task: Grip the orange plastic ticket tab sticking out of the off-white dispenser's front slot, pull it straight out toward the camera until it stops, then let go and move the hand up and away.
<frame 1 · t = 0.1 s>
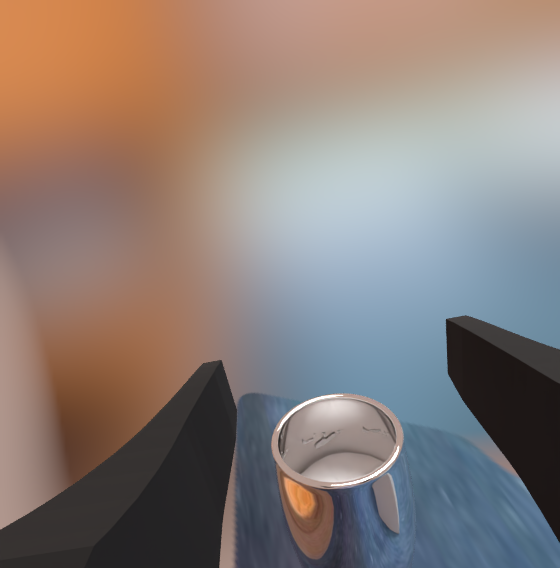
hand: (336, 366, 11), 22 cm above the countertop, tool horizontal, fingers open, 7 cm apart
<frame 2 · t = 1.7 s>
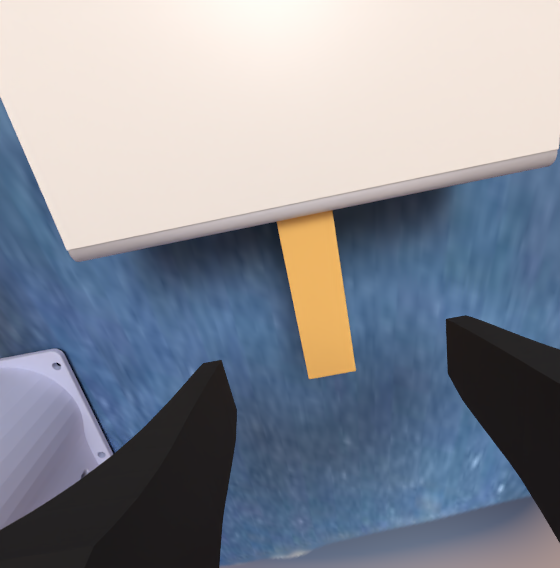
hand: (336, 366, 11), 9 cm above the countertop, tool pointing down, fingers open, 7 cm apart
dispenser: (274, 80, 16), on the countertop
ticket tab: (298, 200, 15), point 4 cm above the countertop, slide at 0.0 cm
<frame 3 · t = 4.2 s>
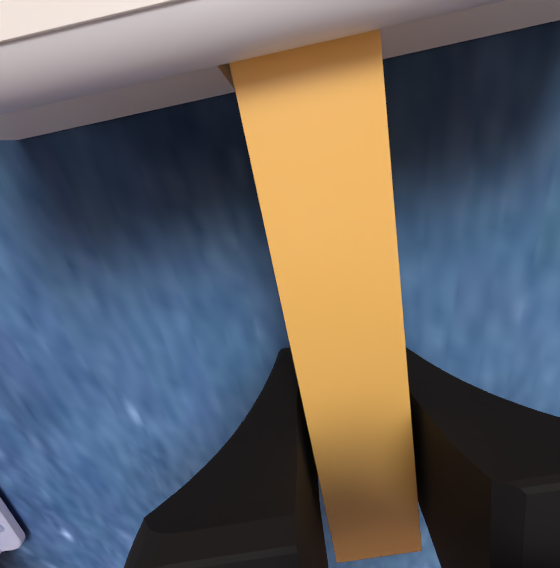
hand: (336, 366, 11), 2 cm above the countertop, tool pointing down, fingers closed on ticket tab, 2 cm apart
ticket tab: (320, 245, 8), point 4 cm above the countertop, slide at 3.4 cm, touching gripper
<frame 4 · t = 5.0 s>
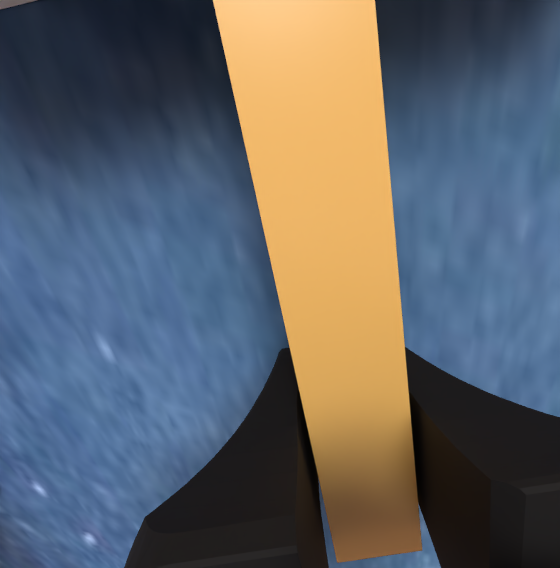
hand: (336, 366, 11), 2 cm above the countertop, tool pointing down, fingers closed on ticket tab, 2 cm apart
ticket tab: (319, 245, 8), point 4 cm above the countertop, slide at 6.5 cm, touching gripper
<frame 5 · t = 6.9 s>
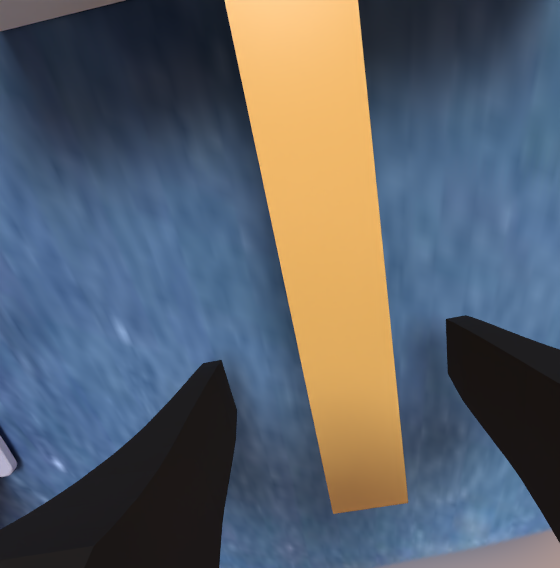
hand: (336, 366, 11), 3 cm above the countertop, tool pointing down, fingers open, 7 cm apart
ticket tab: (318, 232, 9), point 3 cm above the countertop, slide at 6.5 cm
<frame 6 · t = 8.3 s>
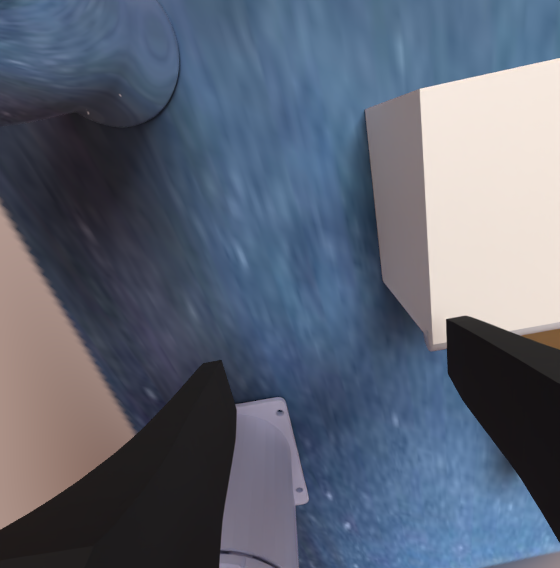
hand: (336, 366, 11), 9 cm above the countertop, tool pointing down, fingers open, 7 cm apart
dispenser: (529, 170, 18), on the countertop
beer glass: (114, 55, 17), on the countertop
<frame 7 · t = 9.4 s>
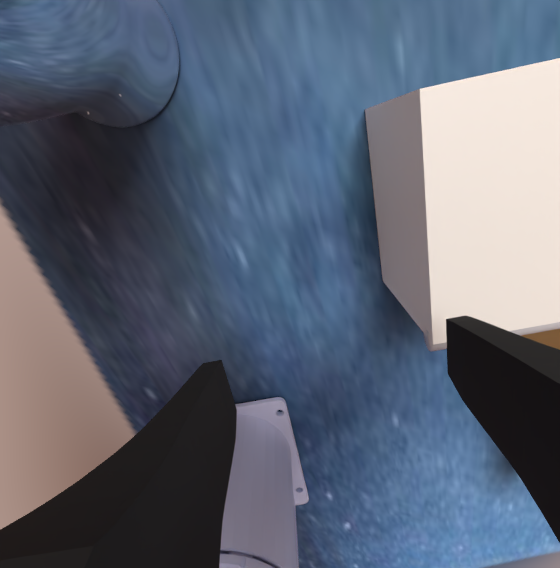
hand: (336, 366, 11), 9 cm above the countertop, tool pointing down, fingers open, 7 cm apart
dispenser: (529, 170, 18), on the countertop
beer glass: (114, 55, 17), on the countertop
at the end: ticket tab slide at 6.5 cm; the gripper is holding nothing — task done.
